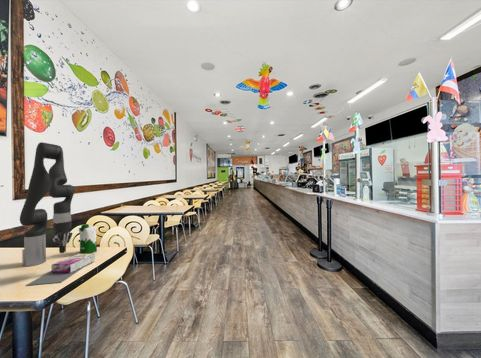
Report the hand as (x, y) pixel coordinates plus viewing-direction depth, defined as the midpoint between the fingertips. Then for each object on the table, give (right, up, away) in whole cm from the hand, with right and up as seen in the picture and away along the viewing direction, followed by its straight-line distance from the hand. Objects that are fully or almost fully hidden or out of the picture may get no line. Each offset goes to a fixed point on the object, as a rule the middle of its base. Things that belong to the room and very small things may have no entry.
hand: (62, 252), depth 108 cm
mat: (+1, -11, -3) cm, 11 cm away
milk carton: (-10, -12, +31) cm, 34 cm away
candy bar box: (+1, -8, -2) cm, 8 cm away
